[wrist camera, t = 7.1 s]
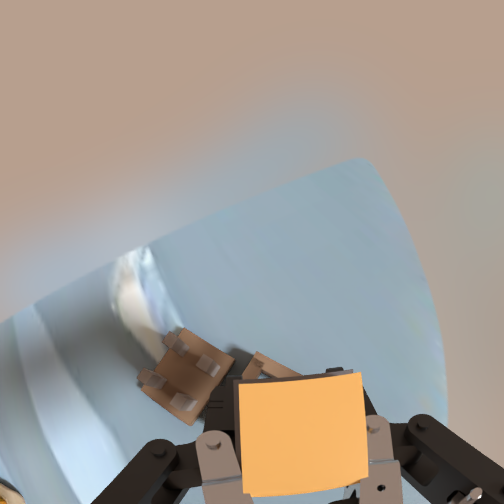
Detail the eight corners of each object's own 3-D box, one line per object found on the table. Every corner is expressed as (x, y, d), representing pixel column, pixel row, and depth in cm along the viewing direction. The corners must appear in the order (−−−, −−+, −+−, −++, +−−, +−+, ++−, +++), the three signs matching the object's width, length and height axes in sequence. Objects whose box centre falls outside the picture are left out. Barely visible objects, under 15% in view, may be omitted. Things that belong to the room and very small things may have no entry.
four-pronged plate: (144, 390, 24) (122, 385, 20) (186, 330, 28) (172, 314, 23) (192, 425, 22) (177, 428, 18) (235, 360, 26) (230, 350, 22)
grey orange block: (249, 453, 13) (232, 505, 5) (247, 393, 16) (227, 373, 7) (316, 448, 13) (378, 486, 5) (312, 388, 15) (369, 360, 7)
